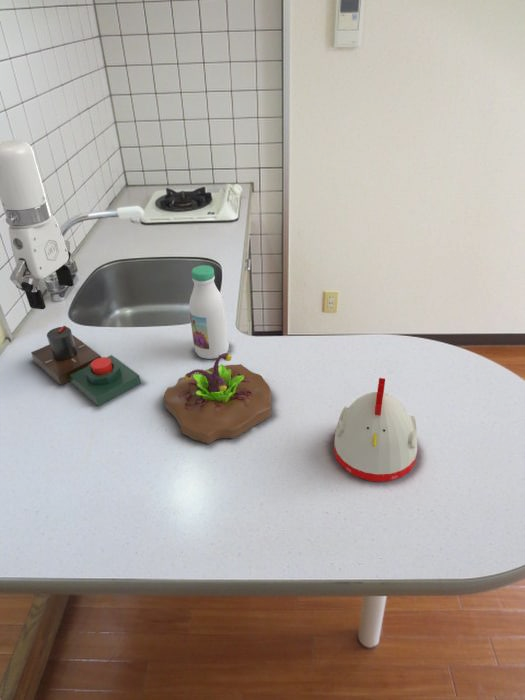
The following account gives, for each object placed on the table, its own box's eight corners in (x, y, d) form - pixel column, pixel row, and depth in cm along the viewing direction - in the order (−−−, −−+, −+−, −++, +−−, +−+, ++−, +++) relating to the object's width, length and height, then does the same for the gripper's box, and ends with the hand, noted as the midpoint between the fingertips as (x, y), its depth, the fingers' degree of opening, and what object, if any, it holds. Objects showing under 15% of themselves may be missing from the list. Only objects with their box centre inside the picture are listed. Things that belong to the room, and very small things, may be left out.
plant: (290, 415, 99) (289, 367, 93) (195, 455, 91) (187, 405, 85) (242, 363, 114) (238, 319, 107) (156, 393, 106) (147, 348, 100)
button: (89, 370, 108) (87, 363, 107) (106, 361, 110) (104, 354, 109) (99, 378, 105) (97, 371, 104) (116, 369, 108) (114, 362, 107)
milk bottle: (224, 338, 122) (216, 258, 111) (233, 355, 116) (225, 273, 105) (192, 344, 121) (180, 265, 109) (199, 363, 114) (187, 280, 103)
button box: (72, 383, 110) (67, 368, 108) (113, 362, 116) (109, 347, 114) (98, 406, 104) (93, 390, 101) (141, 383, 109) (137, 368, 107)
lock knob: (69, 361, 113) (62, 339, 109) (48, 358, 114) (41, 336, 111) (81, 348, 117) (75, 326, 113) (61, 346, 118) (55, 324, 115)
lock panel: (34, 361, 118) (30, 351, 116) (74, 343, 123) (72, 333, 122) (60, 385, 110) (57, 375, 108) (103, 365, 115) (100, 355, 114)
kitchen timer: (327, 473, 87) (330, 403, 78) (340, 418, 98) (343, 352, 89) (414, 488, 83) (427, 416, 75) (417, 430, 94) (428, 361, 86)
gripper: (15, 232, 88) (43, 319, 98) (72, 199, 102) (92, 279, 112) (-22, 229, 90) (9, 315, 100) (39, 197, 104) (61, 276, 114)
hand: (53, 296), depth 106 cm, fingers open, 9 cm apart
